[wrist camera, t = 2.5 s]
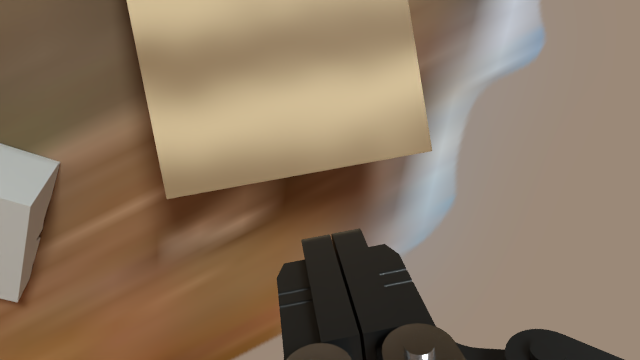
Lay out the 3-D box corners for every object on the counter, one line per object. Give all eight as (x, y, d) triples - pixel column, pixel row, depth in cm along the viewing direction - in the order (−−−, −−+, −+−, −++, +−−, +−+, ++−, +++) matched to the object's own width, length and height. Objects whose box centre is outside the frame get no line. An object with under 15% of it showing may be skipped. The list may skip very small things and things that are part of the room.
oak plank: (129, -55, 26) (110, -82, 23) (376, -91, 27) (388, -121, 24) (179, 194, 27) (166, 199, 24) (416, 151, 28) (432, 150, 25)
